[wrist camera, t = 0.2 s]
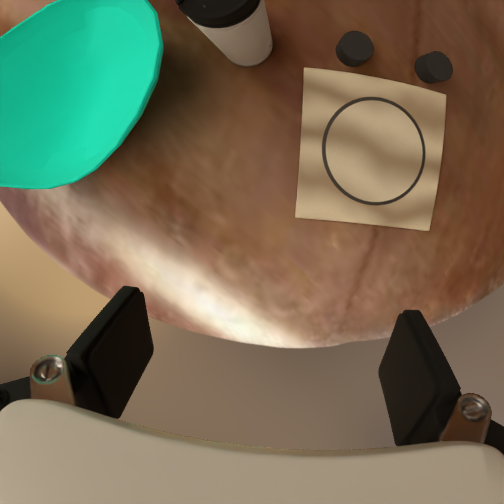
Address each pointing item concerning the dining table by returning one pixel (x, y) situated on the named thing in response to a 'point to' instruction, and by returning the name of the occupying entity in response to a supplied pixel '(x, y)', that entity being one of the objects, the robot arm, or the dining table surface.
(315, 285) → the dining table surface
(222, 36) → the travel mug
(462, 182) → the dining table surface
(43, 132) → the table top decor
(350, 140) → the drawing board
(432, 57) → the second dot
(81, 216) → the dining table surface
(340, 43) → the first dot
